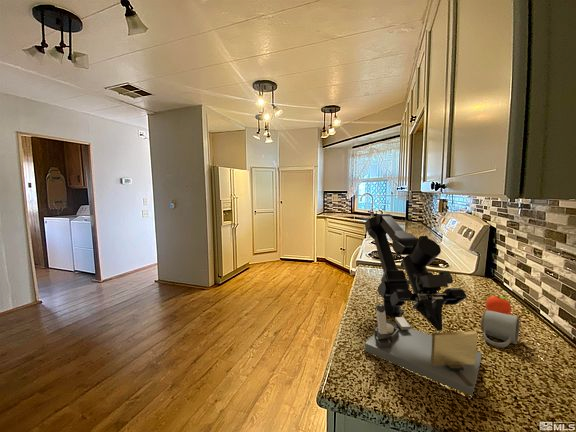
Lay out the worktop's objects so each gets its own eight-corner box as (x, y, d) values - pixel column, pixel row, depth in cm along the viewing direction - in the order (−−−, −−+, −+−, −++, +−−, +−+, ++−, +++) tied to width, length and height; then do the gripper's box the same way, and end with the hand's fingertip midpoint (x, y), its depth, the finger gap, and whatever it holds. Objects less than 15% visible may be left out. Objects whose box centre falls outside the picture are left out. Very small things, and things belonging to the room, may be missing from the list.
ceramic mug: (484, 327, 80) (486, 304, 79) (518, 338, 74) (520, 313, 73) (476, 341, 73) (478, 316, 72) (513, 354, 67) (515, 327, 66)
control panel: (387, 327, 80) (387, 315, 80) (480, 361, 64) (482, 346, 64) (364, 351, 69) (365, 336, 68) (472, 400, 52) (473, 381, 52)
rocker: (394, 320, 78) (395, 317, 77) (403, 319, 78) (403, 317, 77) (401, 329, 73) (402, 326, 73) (410, 329, 73) (410, 326, 73)
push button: (383, 326, 74) (383, 321, 74) (395, 331, 72) (395, 326, 72) (378, 331, 72) (378, 326, 72) (390, 336, 69) (390, 331, 69)
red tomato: (507, 312, 89) (508, 293, 89) (519, 322, 83) (521, 302, 82) (481, 309, 92) (482, 291, 91) (490, 319, 85) (492, 299, 84)
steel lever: (377, 338, 68) (373, 304, 70) (386, 338, 68) (383, 304, 70) (380, 340, 66) (376, 305, 68) (390, 340, 66) (386, 304, 68)
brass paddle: (428, 362, 60) (429, 330, 59) (468, 360, 60) (470, 329, 60) (436, 371, 57) (437, 337, 56) (478, 369, 57) (480, 336, 57)
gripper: (396, 260, 67) (417, 321, 57) (464, 259, 67) (496, 319, 57) (383, 279, 75) (399, 334, 65) (443, 277, 76) (468, 332, 66)
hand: (440, 330), depth 63 cm, fingers closed
